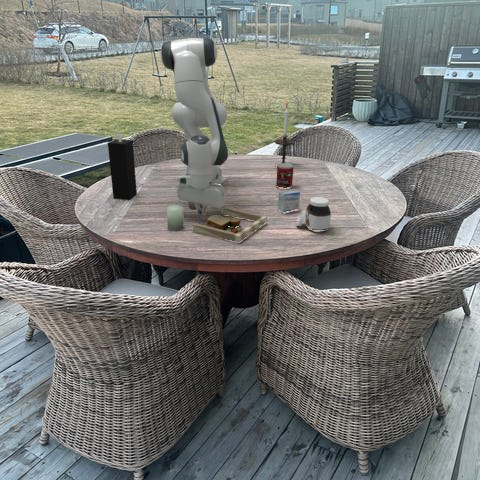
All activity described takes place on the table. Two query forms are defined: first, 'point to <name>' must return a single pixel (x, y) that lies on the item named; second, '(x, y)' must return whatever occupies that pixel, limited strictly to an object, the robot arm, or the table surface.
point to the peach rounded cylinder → (192, 207)
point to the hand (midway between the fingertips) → (201, 213)
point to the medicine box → (288, 200)
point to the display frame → (229, 235)
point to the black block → (122, 168)
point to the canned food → (284, 175)
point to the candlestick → (285, 137)
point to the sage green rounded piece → (175, 217)
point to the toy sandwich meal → (224, 224)
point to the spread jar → (316, 214)
